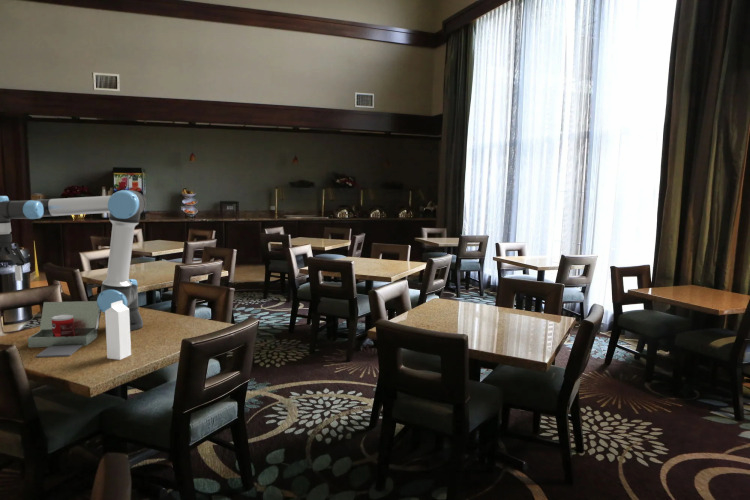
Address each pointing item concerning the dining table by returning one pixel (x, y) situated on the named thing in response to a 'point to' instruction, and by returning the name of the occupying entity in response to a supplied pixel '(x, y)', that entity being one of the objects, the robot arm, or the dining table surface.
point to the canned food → (63, 325)
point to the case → (84, 324)
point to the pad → (59, 351)
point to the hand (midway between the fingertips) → (4, 283)
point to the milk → (118, 331)
